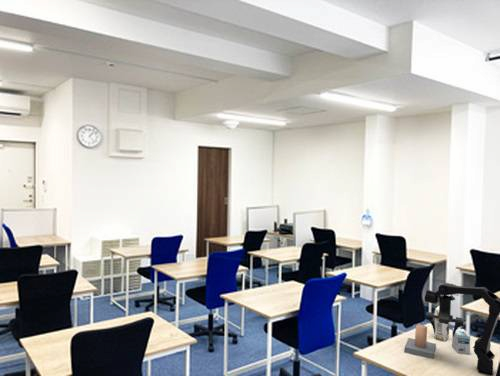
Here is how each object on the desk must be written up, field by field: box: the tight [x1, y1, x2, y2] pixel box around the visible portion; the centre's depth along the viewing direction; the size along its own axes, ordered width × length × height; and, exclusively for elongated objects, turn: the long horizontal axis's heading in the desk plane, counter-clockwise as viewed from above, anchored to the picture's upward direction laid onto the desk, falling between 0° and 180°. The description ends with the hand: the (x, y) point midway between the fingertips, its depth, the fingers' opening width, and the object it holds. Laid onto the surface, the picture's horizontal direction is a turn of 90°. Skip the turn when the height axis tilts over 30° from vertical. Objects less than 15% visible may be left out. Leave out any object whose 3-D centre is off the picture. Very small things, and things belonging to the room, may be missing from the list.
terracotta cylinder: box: [414, 324, 428, 348], centre depth 222 cm, size 6×6×11 cm
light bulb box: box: [451, 327, 471, 355], centre depth 224 cm, size 11×7×11 cm, turn 168°
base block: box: [404, 337, 437, 360], centre depth 222 cm, size 15×15×3 cm
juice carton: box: [433, 305, 450, 342], centre depth 240 cm, size 8×9×19 cm
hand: (443, 334), depth 214 cm, fingers open, 9 cm apart
